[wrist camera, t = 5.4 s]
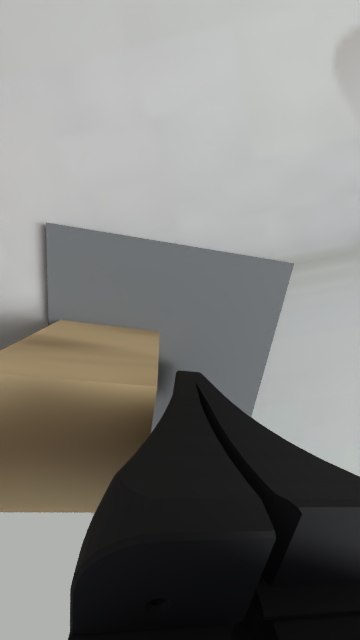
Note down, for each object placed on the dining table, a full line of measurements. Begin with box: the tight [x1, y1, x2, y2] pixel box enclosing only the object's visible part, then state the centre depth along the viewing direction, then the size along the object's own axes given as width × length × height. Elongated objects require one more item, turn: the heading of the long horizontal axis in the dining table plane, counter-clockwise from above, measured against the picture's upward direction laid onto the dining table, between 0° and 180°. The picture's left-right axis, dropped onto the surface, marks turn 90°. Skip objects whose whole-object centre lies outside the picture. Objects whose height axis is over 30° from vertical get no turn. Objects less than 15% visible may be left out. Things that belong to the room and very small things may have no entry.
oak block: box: [0, 320, 160, 512], centre depth 8 cm, size 5×5×5 cm
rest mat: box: [46, 223, 294, 433], centre depth 11 cm, size 14×12×1 cm
